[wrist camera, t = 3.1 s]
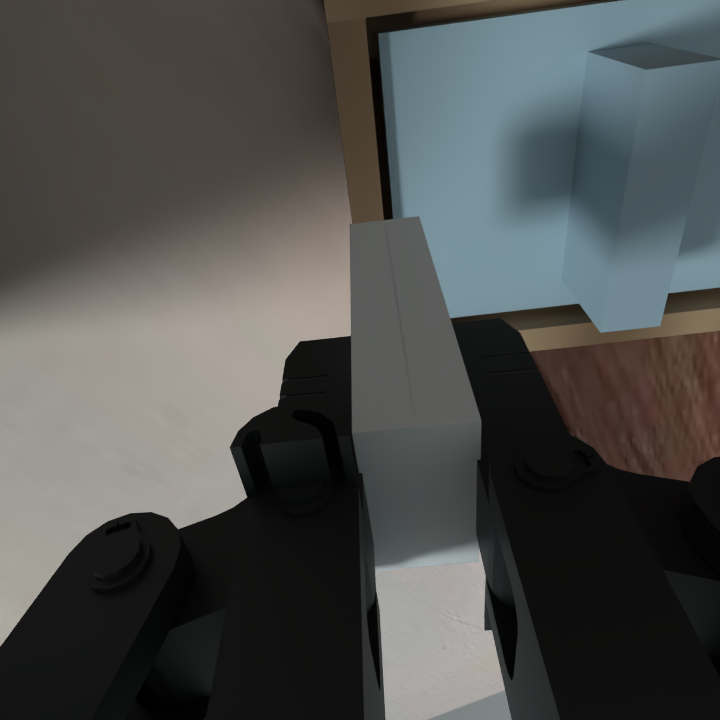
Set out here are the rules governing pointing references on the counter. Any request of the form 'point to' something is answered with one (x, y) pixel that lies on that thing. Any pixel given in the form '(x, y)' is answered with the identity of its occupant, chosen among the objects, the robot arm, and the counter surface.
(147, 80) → the counter surface
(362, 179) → the pencil box
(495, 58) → the lid
